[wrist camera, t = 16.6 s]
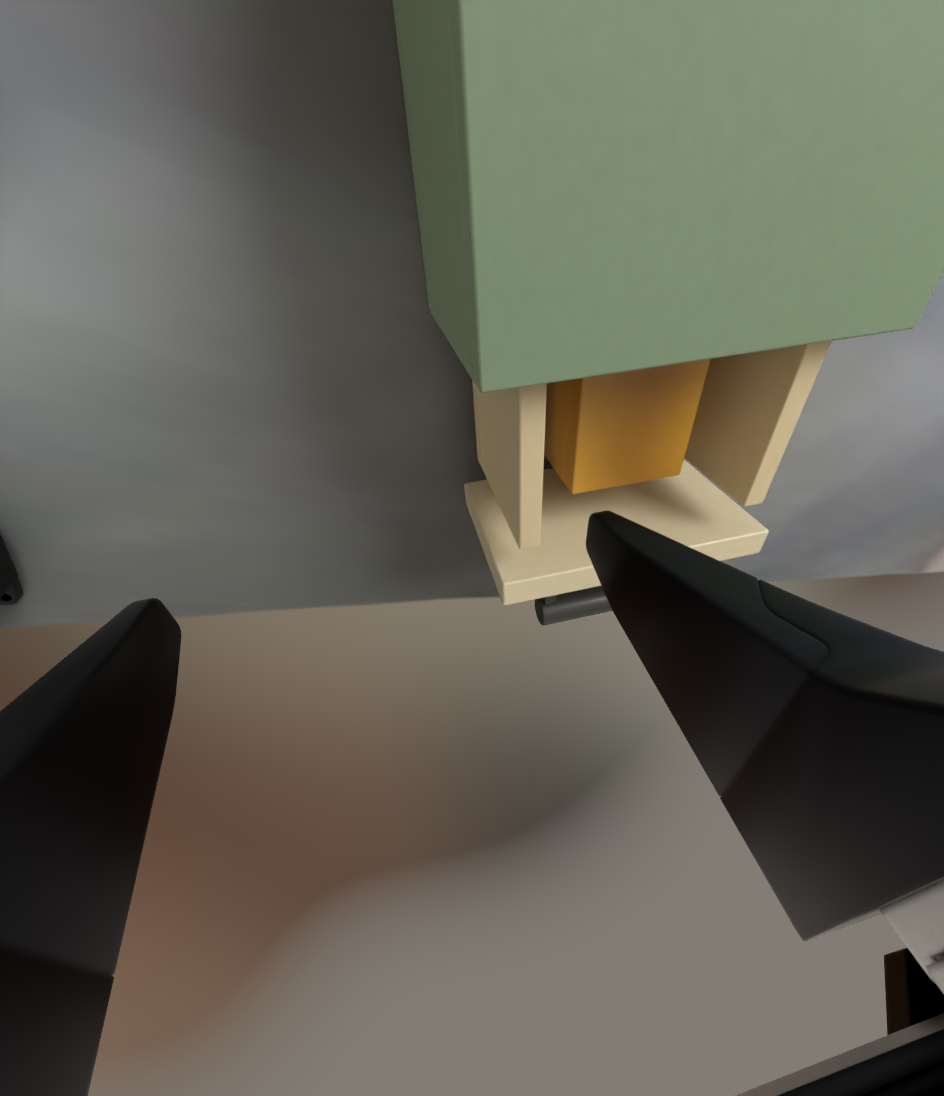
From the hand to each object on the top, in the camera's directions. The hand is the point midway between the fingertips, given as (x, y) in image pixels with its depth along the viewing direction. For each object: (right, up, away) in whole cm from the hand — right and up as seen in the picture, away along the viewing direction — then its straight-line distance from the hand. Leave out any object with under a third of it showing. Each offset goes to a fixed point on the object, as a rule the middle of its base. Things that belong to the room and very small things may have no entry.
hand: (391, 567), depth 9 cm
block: (+7, +7, +9) cm, 13 cm away
